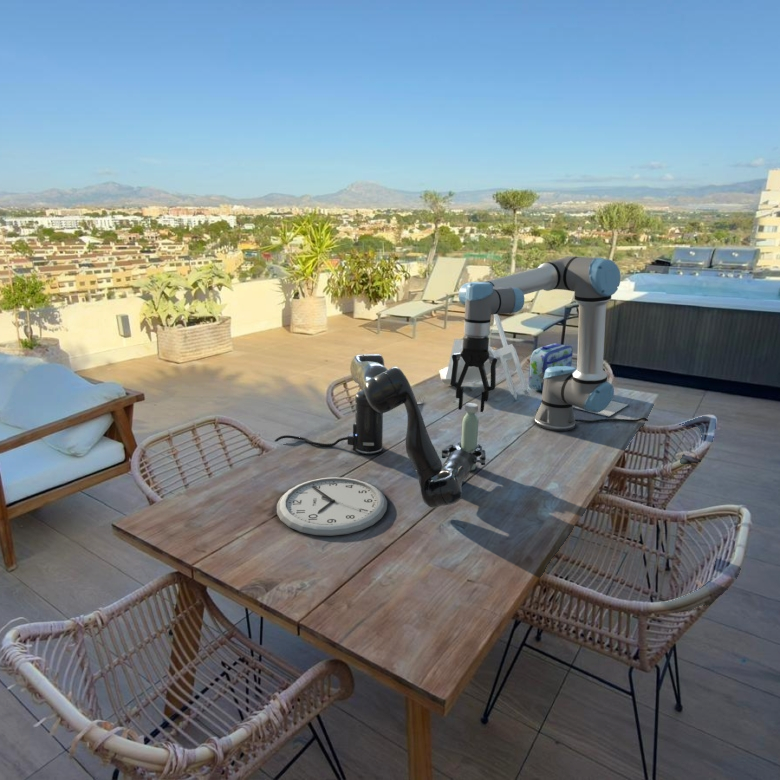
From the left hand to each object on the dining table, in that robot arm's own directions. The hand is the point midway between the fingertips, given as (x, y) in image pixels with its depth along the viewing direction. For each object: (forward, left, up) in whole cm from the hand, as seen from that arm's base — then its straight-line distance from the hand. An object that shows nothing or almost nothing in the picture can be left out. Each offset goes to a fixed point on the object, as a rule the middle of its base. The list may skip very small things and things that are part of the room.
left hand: (470, 445), depth 167 cm
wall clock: (-28, -41, -6) cm, 50 cm away
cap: (0, -3, +14) cm, 15 cm away
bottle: (0, -3, -6) cm, 7 cm away
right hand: (0, -3, +13) cm, 13 cm away
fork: (-34, +47, -6) cm, 58 cm away
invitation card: (+39, +79, -6) cm, 89 cm away
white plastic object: (-13, +78, -6) cm, 79 cm away
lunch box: (+16, +99, -6) cm, 100 cm away
